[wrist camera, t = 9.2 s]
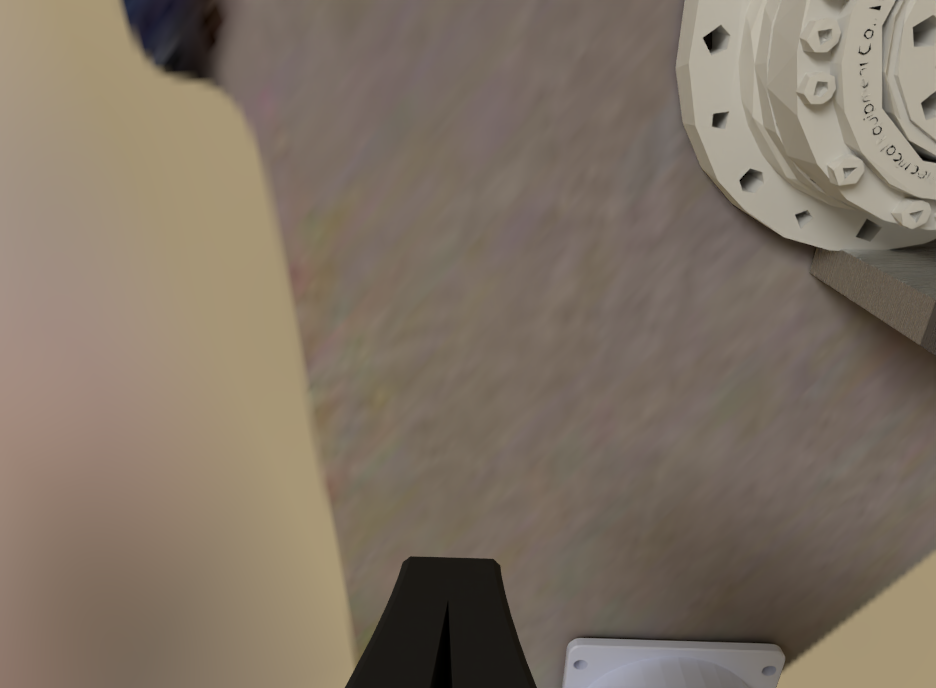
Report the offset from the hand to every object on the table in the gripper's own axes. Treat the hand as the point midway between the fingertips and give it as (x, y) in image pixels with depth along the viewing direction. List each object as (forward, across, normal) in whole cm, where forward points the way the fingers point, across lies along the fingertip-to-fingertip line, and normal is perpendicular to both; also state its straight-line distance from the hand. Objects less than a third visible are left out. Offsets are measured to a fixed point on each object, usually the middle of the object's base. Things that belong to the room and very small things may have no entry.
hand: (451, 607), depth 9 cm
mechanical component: (+10, -10, -8) cm, 16 cm away
